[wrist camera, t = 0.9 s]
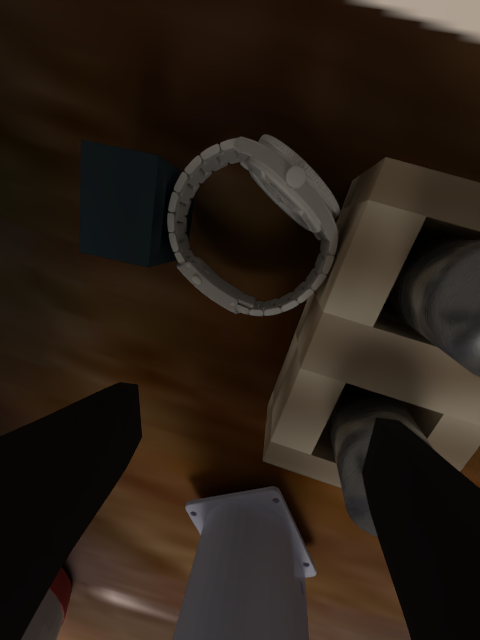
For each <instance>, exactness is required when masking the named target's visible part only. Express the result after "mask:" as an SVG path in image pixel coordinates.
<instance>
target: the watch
mask: <svg viewBox="0 0 480 640" xmlns="http://www.w3.org/2000/svg"><path fill="white" fill-rule="evenodd" d="M200 155H201V157H200V156H199V155H198V156H196V157H195V158H194V159H193V160H192V161H191V162H190V163H189V164H188V166H187V167H186V168H185V172H186V173H185V172H181V171H180V170H178V169H177V168H175V167H174V166H173V165H171V164H170V163H169V162H167V161H166V160H164V159H163V158H162V157H160V156H159V155H155V154H150V153H145V152H140V151H135V150H130V149H125V148H120V147H115V146H110V145H105V144H100V143H95V142H90V141H85V140H81V183H80V252H81V253H86V254H90V255H95V256H99V257H104V258H108V259H113V260H117V261H122V262H127V263H131V264H136V265H140V266H145V267H151V266H155V265H159V264H163V263H167V262H171V261H175V260H177V261H178V264H177V268H178V269H179V270H180V272H181V273H182V274H183V275H184V276H185V277H186V278H187V279H188V280H189V281H190V282H191V283H192V284H193V285H194V286H195V287H196V288H197V289H198V290H200V291H201V292H202V293H203V294H204V295H206V296H207V297H208V298H210V299H211V300H213V301H214V302H216V303H217V304H219V305H220V306H222V307H224V308H226V309H227V310H229V311H231V312H233V313H235V314H237V313H240V312H241V313H243V314H248V313H249V315H253V316H263V314H264V315H265V316H269V315H275V314H279V313H281V312H285V311H288V310H290V309H292V308H294V307H296V306H297V305H298V304H299V303H302V302H304V301H305V300H306V299H308V298H309V297H310V296H311V295H312V294H313V293H314V291H315V290H317V289H318V288H319V286H320V285H321V284H322V282H323V281H324V279H325V278H326V275H325V274H328V272H329V270H330V268H331V266H332V263H333V260H334V256H333V255H335V253H336V249H337V244H338V233H339V232H338V229H337V226H336V223H335V220H334V219H335V218H336V217H337V216H338V215H339V214H340V208H339V205H338V203H337V201H336V199H335V197H334V195H333V194H332V192H331V191H330V189H329V188H328V186H327V185H326V184H325V183H324V181H323V180H322V179H321V178H320V177H319V175H318V174H317V173H316V172H315V171H314V170H313V169H312V168H311V167H310V166H309V165H308V164H307V163H306V162H305V161H304V160H303V159H302V158H301V157H300V156H299V155H298V154H297V153H296V152H295V151H293V150H292V149H291V148H290V147H288V146H287V145H286V144H284V143H283V142H281V141H280V140H278V139H276V138H274V137H272V136H270V135H266V134H265V135H262V137H261V138H260V139H259V141H258V142H257V141H254V140H251V139H248V138H245V137H240V138H234V139H230V140H226V141H224V142H221V143H220V146H219V144H215V145H213V146H211V147H209V148H208V149H206V150H205V151H203V152H202V153H201V154H200ZM218 157H219V158H218ZM228 162H229V163H230V164H233V163H237V162H241V163H240V164H241V165H242V166H243V167H244V168H245V169H247V170H249V173H250V175H251V176H252V178H253V179H254V180H255V182H256V183H257V184H258V185H259V186H260V187H261V189H262V190H263V191H264V192H265V193H266V194H267V195H268V196H269V197H270V198H271V199H272V200H273V201H274V202H275V203H276V204H277V205H278V206H279V207H280V208H281V209H282V210H283V211H284V212H285V213H286V214H287V215H289V216H290V217H291V218H292V219H293V220H294V221H295V222H297V223H298V224H299V225H300V226H302V227H303V228H305V229H306V230H308V231H312V232H313V233H314V235H315V237H316V238H317V239H318V240H321V246H320V251H321V252H320V253H319V254H318V258H317V260H316V263H315V268H313V269H312V271H311V272H310V274H309V275H308V276H307V278H306V281H305V282H302V283H301V284H300V285H299V286H298V287H297V288H295V289H294V292H290V293H288V294H286V295H284V296H282V297H281V298H280V299H273V300H268V301H265V303H264V302H263V301H255V300H256V298H255V297H252V296H249V295H247V294H244V293H242V291H240V290H239V289H237V288H235V287H234V286H232V285H230V284H229V283H227V282H226V281H224V280H223V279H222V278H220V277H219V276H218V275H217V274H216V273H215V272H214V271H213V270H212V269H210V268H209V266H208V265H207V264H206V263H205V262H204V261H203V260H202V259H201V258H199V257H195V256H194V255H193V252H192V251H191V250H189V248H190V245H189V233H190V226H191V219H192V211H193V203H194V195H195V193H196V191H197V190H198V188H199V186H200V185H199V183H203V182H204V181H205V180H206V179H207V178H208V177H209V176H210V175H211V174H212V170H213V171H217V170H219V169H221V168H223V167H225V166H227V165H228ZM201 168H202V169H203V170H202V169H201ZM313 290H314V291H313ZM298 302H299V303H298Z"/></svg>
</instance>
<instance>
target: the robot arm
mask: <svg viewBox="0 0 480 640" xmlns="http://www.w3.org/2000/svg"><path fill="white" fill-rule="evenodd" d="M141 438H142V430H141V417H140V404H139V391H138V385H137V384H129V383H122V382H120V383H117V384H114V385H112V386H110V387H107V388H105V389H103V390H101V391H98V392H96V393H94V394H92V395H90V396H88V397H86V398H84V399H81V400H79V401H77V402H75V403H73V404H71V405H69V406H67V407H65V408H62V409H60V410H58V411H56V412H54V413H52V414H50V415H48V416H45V417H43V418H41V419H39V420H36V421H34V422H32V423H30V424H27V425H25V426H23V427H21V428H18V429H16V430H14V431H11V432H9V433H7V434H5V435H2V436H0V640H21V639H22V637H23V635H24V633H25V631H26V629H27V627H28V626H29V624H30V622H31V620H32V618H33V617H34V615H35V613H36V611H37V609H38V608H39V606H40V604H41V602H42V601H43V599H44V597H45V595H46V593H47V592H48V590H49V588H50V586H51V585H52V583H53V581H54V579H55V577H56V576H57V574H58V572H59V570H60V569H61V567H62V565H63V564H64V562H65V561H66V559H67V557H68V556H69V554H70V553H71V551H72V549H73V548H74V546H75V545H76V543H77V542H78V540H79V539H80V537H81V536H82V534H83V533H84V531H85V530H86V528H87V527H88V525H89V524H90V522H91V521H92V519H93V518H94V516H95V515H96V513H97V512H98V510H99V509H100V507H101V506H102V504H103V503H104V501H105V500H106V498H107V497H108V495H109V494H110V492H111V491H112V489H113V488H114V486H115V485H116V483H117V482H118V480H119V479H120V477H121V476H122V474H123V472H124V471H125V469H126V468H127V466H128V464H129V462H130V460H131V458H132V456H133V454H134V452H135V450H136V448H137V446H138V444H139V442H140V440H141ZM362 477H363V482H364V487H365V492H366V497H367V501H368V506H369V510H370V514H371V517H372V520H373V523H374V526H375V529H376V532H377V536H378V539H379V542H380V545H381V548H382V551H383V554H384V557H385V560H386V563H387V566H388V569H389V572H390V575H391V578H392V581H393V584H394V587H395V590H396V593H397V596H398V599H399V602H400V605H401V608H402V611H403V614H404V617H405V620H406V623H407V627H408V630H409V633H410V637H411V640H480V488H479V487H477V486H476V485H475V484H474V483H473V482H471V481H470V480H469V479H468V478H467V477H465V476H464V475H463V474H462V473H461V472H459V471H458V470H457V469H456V468H455V467H454V466H452V465H451V464H450V463H449V462H448V461H447V460H445V459H444V458H443V457H442V456H441V455H440V454H439V453H437V452H436V451H435V450H434V449H433V448H432V447H430V446H429V445H428V444H427V443H426V442H425V441H423V440H422V439H421V438H420V437H419V436H418V435H416V434H415V433H414V432H413V431H412V430H410V429H409V428H408V427H407V426H406V425H404V424H403V423H402V422H400V421H399V420H392V419H385V418H378V417H376V419H375V423H374V427H373V431H372V435H371V439H370V443H369V446H368V450H367V454H366V458H365V462H364V466H363V469H362ZM185 509H186V511H187V512H188V514H189V516H190V517H191V519H192V521H193V523H194V524H195V526H196V528H197V529H198V531H199V533H200V534H201V536H200V540H199V543H198V547H197V551H196V555H195V558H194V562H193V566H192V569H191V573H190V577H189V581H188V584H187V588H186V592H185V595H184V599H183V603H182V607H181V610H180V614H179V618H178V621H177V625H176V629H175V633H174V636H173V640H309V633H308V617H307V601H306V585H305V577H313V576H315V575H316V567H315V565H314V563H313V560H312V558H311V556H310V554H309V552H308V550H307V547H306V545H305V543H304V541H303V539H302V537H301V534H300V532H299V530H298V528H297V526H296V524H295V522H294V519H293V517H292V515H291V513H290V511H289V509H288V506H287V504H286V502H285V500H284V498H283V496H282V493H281V491H280V490H279V488H277V487H275V486H271V487H265V488H259V489H254V490H248V491H242V492H236V493H231V494H225V495H219V496H213V497H208V498H202V499H196V500H191V501H188V502H187V504H186V507H185Z"/></svg>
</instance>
